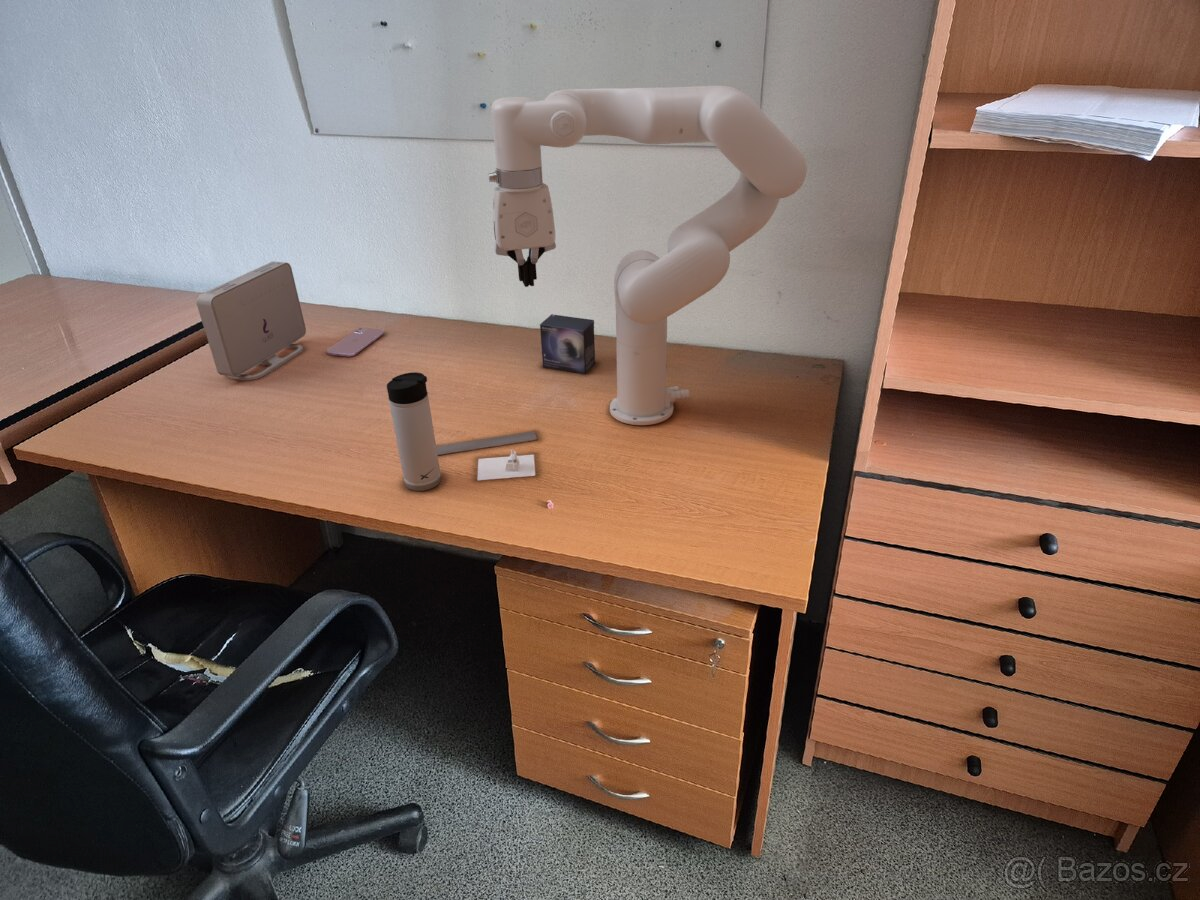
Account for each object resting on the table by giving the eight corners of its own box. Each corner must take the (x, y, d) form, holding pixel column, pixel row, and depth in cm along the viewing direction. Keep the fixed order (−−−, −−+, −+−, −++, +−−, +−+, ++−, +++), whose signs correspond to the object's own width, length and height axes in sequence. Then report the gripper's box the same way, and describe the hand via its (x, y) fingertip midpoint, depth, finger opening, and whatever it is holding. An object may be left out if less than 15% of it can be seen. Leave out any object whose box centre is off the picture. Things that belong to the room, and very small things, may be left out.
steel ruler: (534, 432, 149) (534, 431, 148) (537, 440, 146) (537, 438, 146) (428, 448, 144) (427, 447, 144) (429, 457, 142) (429, 455, 142)
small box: (541, 368, 173) (537, 323, 167) (553, 356, 178) (550, 313, 173) (585, 375, 169) (583, 329, 164) (596, 363, 174) (595, 318, 169)
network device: (244, 388, 168) (218, 299, 158) (211, 383, 171) (183, 296, 160) (316, 342, 189) (298, 261, 179) (286, 338, 191) (266, 258, 181)
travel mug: (435, 493, 132) (417, 387, 121) (398, 489, 133) (378, 384, 123) (448, 473, 137) (432, 370, 127) (413, 470, 138) (394, 367, 128)
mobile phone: (323, 350, 182) (358, 326, 194) (324, 354, 182) (359, 330, 194) (351, 353, 180) (385, 329, 192) (352, 357, 180) (386, 333, 192)
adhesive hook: (520, 471, 137) (518, 455, 135) (505, 472, 137) (503, 457, 135) (519, 462, 140) (518, 447, 138) (505, 463, 139) (503, 448, 138)
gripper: (478, 186, 126) (489, 295, 135) (568, 179, 129) (573, 286, 138) (472, 177, 132) (483, 282, 141) (558, 170, 135) (564, 273, 145)
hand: (528, 283), depth 140 cm, fingers closed
